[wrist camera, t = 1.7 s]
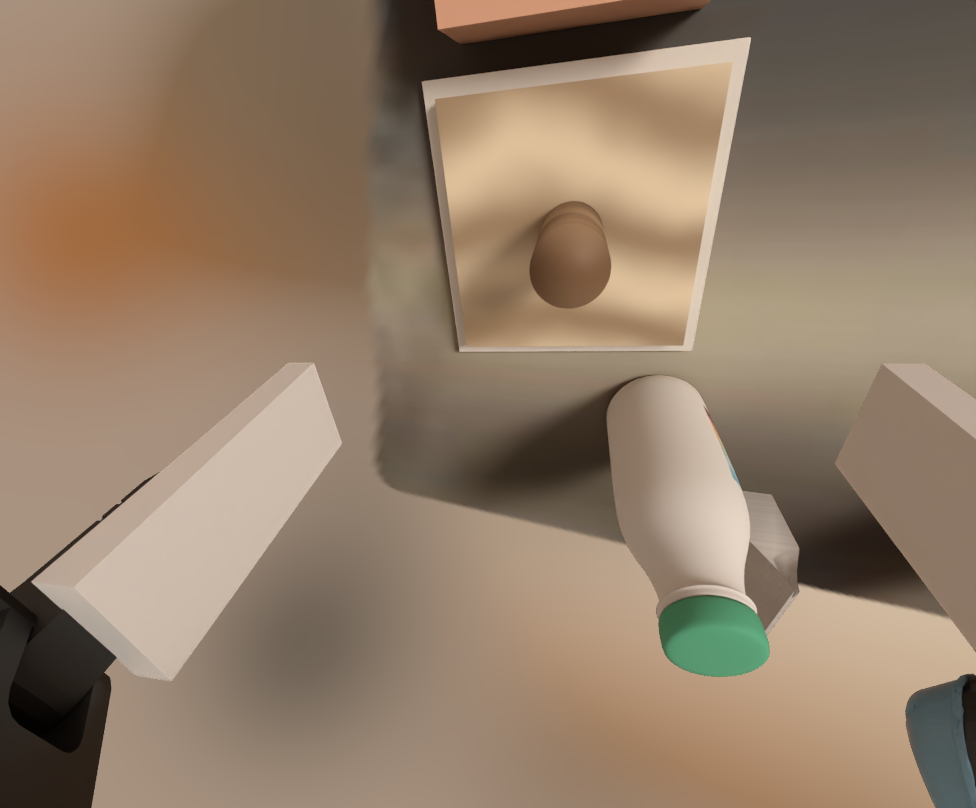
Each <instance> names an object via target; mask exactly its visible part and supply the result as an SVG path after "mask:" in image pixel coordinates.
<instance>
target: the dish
mask: <svg viewBox="0 0 976 808" xmlns="http://www.w3.org/2000/svg"><path fill="white" fill-rule="evenodd" d="M434 1H435V9H436V18H437V26H438V30H439V31H441V32H442V33H444V34H445V35H447V36H449V37H450V38H452V39H453V40H455V41H456V42H458V43H459V44H461V45H462V44H468V43H475V42H482V41H488V40H495V39H502V38H509V37H515V36H522V35H529V34H535V33H542V32H549V31H555V30H562V29H569V28H575V27H582V26H589V25H595V24H602V23H609V22H615V21H622V20H629V19H635V18H642V17H649V16H655V15H662V14H669V13H675V12H682V11H689V10H695V9H702V8H703V7H704V6H705V5H706V4H707V3H709V2H710V1H711V0H434Z"/></svg>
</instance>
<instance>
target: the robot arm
mask: <svg viewBox="0 0 976 808" xmlns="http://www.w3.org/2000/svg"><path fill="white" fill-rule="evenodd" d="M341 444H342V441H341V439H340V436H339V433H338V430H337V427H336V425H335V422H334V419H333V416H332V413H331V410H330V407H329V405H328V402H327V399H326V396H325V393H324V390H323V387H322V385H321V382H320V379H319V376H318V373H317V370H316V368H315V365H314V363H287V364H286V365H285V366H284V367H283V368H282V369H280V370H279V371H278V372H277V373H276V374H275V375H273V376H272V377H271V378H270V379H269V380H268V381H266V382H265V383H264V384H263V385H261V386H260V387H259V388H258V389H257V390H256V391H255V392H253V393H252V394H251V395H250V396H249V397H247V398H246V399H245V400H244V401H243V402H241V403H240V404H239V405H238V406H237V407H236V408H235V409H233V410H232V411H231V412H230V413H229V414H227V415H226V416H225V417H224V418H223V419H222V420H220V421H219V422H218V423H217V424H216V425H214V426H213V427H212V428H211V429H210V430H209V431H208V432H206V433H205V434H204V435H203V436H202V437H201V438H199V439H198V440H197V441H196V442H194V443H193V444H192V445H191V446H190V447H189V448H187V449H186V450H185V451H184V452H183V453H182V454H180V455H179V456H178V457H177V458H176V459H175V460H173V461H172V462H171V463H170V464H169V465H167V466H166V467H165V468H164V469H163V470H162V471H160V472H159V473H157V474H155V475H154V476H152V477H150V478H148V479H147V480H145V481H144V482H142V483H141V484H140V485H139V486H138V487H136V488H135V489H134V490H133V491H132V492H131V493H129V494H128V495H127V496H126V497H125V498H123V499H122V500H121V501H122V503H121V504H116V505H115V506H114V507H113V508H111V509H110V510H109V511H108V512H107V513H106V514H104V515H103V516H102V517H103V518H102V520H101V521H96V522H95V523H94V524H92V525H91V526H90V527H89V528H88V529H87V530H85V531H84V532H83V533H82V534H81V535H79V536H78V537H77V538H76V539H75V540H73V541H72V542H71V543H70V544H69V545H67V546H66V547H65V548H64V549H63V550H62V551H60V552H59V553H58V554H57V555H56V556H54V557H53V558H52V559H51V560H50V561H48V562H47V563H46V564H45V565H44V566H43V567H41V568H40V569H39V570H38V571H37V572H35V573H34V574H33V575H32V576H31V577H29V578H28V579H27V580H26V581H25V582H23V583H22V584H21V585H20V586H19V587H17V588H16V589H14V590H13V591H12V592H10V593H9V592H7V591H6V590H5V589H4V588H3V587H2V586H0V808H91V806H92V800H93V794H94V788H95V781H96V776H97V770H98V764H99V759H100V753H101V747H102V741H103V734H104V729H105V723H106V717H107V711H108V705H109V699H110V693H111V681H110V677H109V676H108V675H106V674H105V673H104V672H105V671H106V669H107V668H108V667H109V666H110V665H111V664H112V663H113V661H114V660H115V659H116V658H117V659H118V660H119V661H120V662H121V663H122V664H123V665H125V666H126V667H127V668H128V669H129V670H130V671H131V672H132V673H133V674H135V675H137V676H143V677H149V678H154V679H160V680H166V681H172V680H173V678H174V677H175V676H176V674H177V673H178V672H179V670H180V669H181V667H182V666H183V665H184V663H185V662H186V660H187V659H188V658H189V656H190V655H191V653H192V652H193V651H194V649H195V648H196V647H197V645H198V644H199V642H200V641H201V639H202V638H203V637H204V635H205V634H206V633H207V631H208V630H209V628H210V627H211V626H212V624H213V623H214V621H215V620H216V619H217V617H218V616H219V614H220V613H221V611H222V610H223V609H224V607H225V606H226V605H227V603H228V602H229V601H230V599H231V598H232V596H233V595H234V593H235V592H236V591H237V589H238V588H239V587H240V585H241V584H242V582H243V581H244V580H245V578H246V577H247V575H248V574H249V573H250V571H251V570H252V568H253V567H254V566H255V564H256V563H257V561H258V560H259V559H260V557H261V556H262V555H263V553H264V552H265V550H266V549H267V548H268V546H269V545H270V543H271V542H272V541H273V539H274V538H275V536H276V535H277V533H278V532H279V531H280V529H281V528H282V527H283V525H284V524H285V522H286V521H287V520H288V518H289V517H290V516H291V514H292V513H293V511H294V510H295V508H296V507H297V506H298V504H299V503H300V501H301V500H302V499H303V497H304V496H305V494H306V493H307V492H308V490H309V489H310V488H311V486H312V485H313V483H314V482H315V481H316V479H317V478H318V476H319V475H320V474H321V472H322V471H323V470H324V468H325V467H326V465H327V464H328V463H329V461H330V460H331V458H332V457H333V456H334V454H335V453H336V451H337V450H338V449H339V447H340V446H341ZM835 465H836V466H837V468H838V469H839V470H840V472H841V473H842V474H843V476H844V477H845V478H846V480H847V481H848V482H849V484H850V485H851V486H852V488H853V489H854V490H855V492H856V493H857V494H858V496H859V497H860V498H861V500H862V501H863V502H864V504H865V505H866V506H867V508H868V509H869V510H870V512H871V513H872V514H873V516H874V517H875V518H876V520H877V521H878V522H879V524H880V525H881V526H882V528H883V529H884V530H885V532H886V533H887V534H888V536H889V537H890V538H891V540H892V541H893V542H894V544H895V545H896V546H897V548H898V549H899V550H900V552H901V553H902V554H903V556H904V557H905V558H906V560H907V561H908V562H909V564H910V565H911V566H912V568H913V569H914V570H915V572H916V573H917V574H918V576H919V577H920V578H921V580H922V581H923V582H924V584H925V585H926V586H927V588H928V589H929V590H930V592H931V593H932V594H933V596H934V597H935V598H936V600H937V601H938V602H939V604H940V605H941V606H942V608H943V609H944V610H945V612H946V613H947V614H948V616H949V617H950V618H951V620H952V621H953V622H954V624H955V625H956V626H957V628H958V629H959V630H960V632H961V633H962V634H963V636H964V637H965V638H966V640H967V641H968V642H969V644H970V645H971V646H972V648H973V649H974V650H975V652H976V399H974V398H973V397H972V396H970V395H969V394H967V393H966V392H964V391H963V390H962V389H960V388H959V387H957V386H956V385H955V384H953V383H952V382H950V381H949V380H947V379H946V378H945V377H943V376H942V375H940V374H939V373H937V372H936V371H935V370H933V369H932V368H930V367H929V366H928V365H926V364H882V365H881V367H880V369H879V371H878V373H877V375H876V377H875V379H874V381H873V384H872V386H871V388H870V390H869V392H868V394H867V396H866V398H865V400H864V403H863V405H862V407H861V409H860V411H859V413H858V415H857V417H856V420H855V422H854V424H853V426H852V428H851V430H850V432H849V434H848V436H847V439H846V441H845V443H844V445H843V447H842V449H841V451H840V453H839V456H838V458H837V460H836V462H835ZM905 712H906V727H907V732H908V737H909V741H910V745H911V748H912V751H913V754H914V757H915V760H916V763H917V766H918V768H919V771H920V774H921V776H922V778H923V781H924V783H925V786H926V788H927V790H928V792H929V795H930V797H931V799H932V801H933V803H934V805H935V807H936V808H976V676H975V675H974V674H966V675H962V676H960V677H959V678H958V680H955V681H951V682H947V683H944V684H940V685H937V686H933V687H929V688H925V689H921V690H919V691H917V692H915V693H914V694H913V695H912V696H911V697H910V698H909V700H908V702H907V706H906V711H905Z"/></svg>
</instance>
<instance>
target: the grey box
mask: <svg viewBox="0 0 976 808" xmlns="http://www.w3.org/2000/svg"><path fill="white" fill-rule="evenodd" d="M742 492H743V495H744V498H745V501H746V504H747V509H748V513H749V520H750V541H749V547H748V552H747V557H746V562H745V569H744V587H745V593H746V596H748V597H749V598H750V599H751V600H752V601H753V602H754V604H755V606H756V608H757V615H758V617H759V618H760V620H761V622H762V625H763V627H764V630H765V632H766V636H767V635H768V633H769V632H770V631H771V630H772V628H773V627H774V625H775V624H776V622H777V621H778V620H779V619H780V617H781V616H782V615H783V613H784V612H785V611H786V609H787V608H788V607H789V605H790V604H791V603H792V601H793V600H794V599H795V597H796V596H797V595H798V593H799V588H798V583H797V566H798V557H799V547H798V545H797V543H796V541H795V539H794V537H793V535H792V533H791V531H790V529H789V528H788V526H787V524H786V522H785V520H784V518H783V516H782V514H781V512H780V510H779V508H778V506H777V504H776V502H775V500H774V499H773V497H772V495H770V494H763V493H755V492H747V491H742Z"/></svg>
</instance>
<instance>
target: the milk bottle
mask: <svg viewBox="0 0 976 808" xmlns="http://www.w3.org/2000/svg"><path fill="white" fill-rule="evenodd" d="M607 431H608V442H609V452H610V462H611V472H612V481H613V490H614V499H615V505H616V512H617V517H618V522H619V525H620V529H621V532H622V534H623V537H624V539H625V542H626V544H627V545H628V547H629V549H630V551H631V553H632V554H633V556H634V557H635V559H636V560H637V561H638V563H639V564H640V565H641V567H642V568H643V570H644V571H645V572H646V574H647V576H648V577H649V578H650V581H651V582H652V584H653V586H654V588H655V591H656V593H657V595H658V598H659V603H658V605H657V608H656V614H657V617H658V619H659V634H660V639H661V643H662V648H663V650H664V652H665V655H666V656H667V658H668V659H669V660H670V661H671V662H672V663H673V664H675V665H677V666H679V667H680V668H682V669H684V670H686V671H689V672H692V673H695V674H699V675H704V676H714V677H728V676H736V675H742V674H745V673H748V672H751V671H753V670H755V669H757V668H759V667H760V666H761V665H763V664H764V663H765V662H766V660H767V659H768V657H769V652H770V650H769V642H768V639H767V636H766V632H765V630H764V627H763V625H762V622H761V620H760V618H759V617H758V615H757V608H756V606H755V604H754V602H753V601H752V600H751V599H750V598H749V597H748V596H746V593H745V587H744V569H745V562H746V557H747V552H748V547H749V541H750V520H749V513H748V509H747V504H746V501H745V498H744V495H743V492H742V490H741V487H740V484H739V482H738V479H737V476H736V474H735V472H734V469H733V467H732V465H731V462H730V460H729V458H728V455H727V453H726V451H725V448H724V446H723V444H722V442H721V439H720V437H719V435H718V433H717V430H716V428H715V426H714V424H713V421H712V419H711V417H710V415H709V412H708V410H707V408H706V406H705V404H704V402H703V400H702V398H701V396H700V394H699V393H698V392H697V390H696V389H695V388H694V387H692V386H691V385H690V384H688V383H687V382H685V381H683V380H681V379H678V378H675V377H671V376H666V375H652V376H645V377H642V378H638V379H636V380H634V381H632V382H630V383H628V384H627V385H625V386H624V387H622V388H621V389H620V390H619V391H618V392H617V393H616V394H615V396H614V397H613V398H612V400H611V402H610V404H609V406H608V410H607Z"/></svg>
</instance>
